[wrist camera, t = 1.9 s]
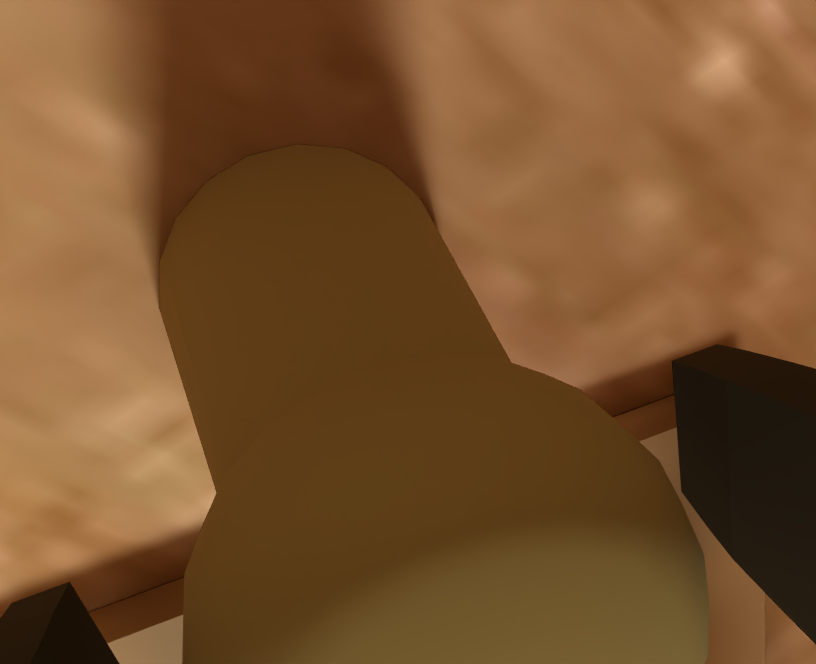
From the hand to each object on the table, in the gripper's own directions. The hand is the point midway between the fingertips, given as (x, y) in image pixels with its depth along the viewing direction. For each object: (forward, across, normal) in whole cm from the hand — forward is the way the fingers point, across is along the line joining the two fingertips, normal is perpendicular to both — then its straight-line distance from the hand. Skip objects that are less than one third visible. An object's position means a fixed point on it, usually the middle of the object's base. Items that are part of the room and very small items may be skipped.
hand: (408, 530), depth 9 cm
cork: (+8, 0, 0) cm, 8 cm away
